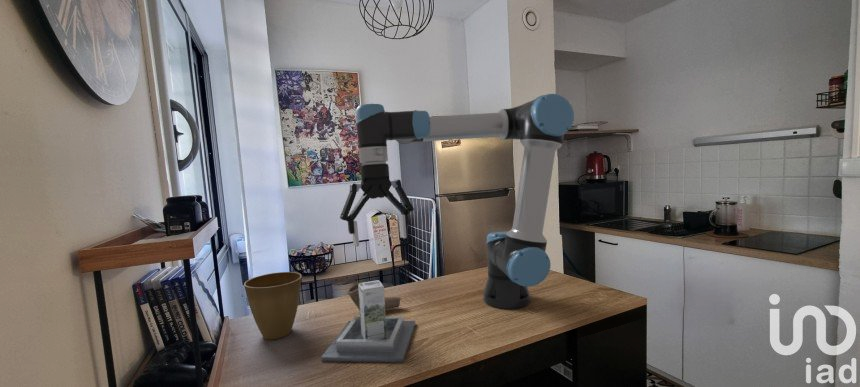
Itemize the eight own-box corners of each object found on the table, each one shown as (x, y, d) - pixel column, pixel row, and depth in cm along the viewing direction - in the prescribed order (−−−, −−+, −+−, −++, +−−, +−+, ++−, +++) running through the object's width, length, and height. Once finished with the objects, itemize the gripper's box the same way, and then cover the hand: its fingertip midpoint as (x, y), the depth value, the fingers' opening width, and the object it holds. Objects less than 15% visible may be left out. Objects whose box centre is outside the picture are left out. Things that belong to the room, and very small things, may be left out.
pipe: (402, 312, 111) (400, 281, 110) (348, 319, 107) (346, 287, 107) (399, 305, 117) (398, 275, 116) (349, 311, 114) (347, 281, 113)
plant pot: (299, 342, 94) (295, 284, 93) (240, 349, 92) (235, 290, 91) (309, 319, 109) (306, 269, 107) (259, 325, 106) (254, 273, 105)
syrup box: (381, 330, 97) (378, 278, 96) (387, 339, 92) (384, 285, 90) (360, 334, 95) (357, 282, 94) (365, 344, 89) (362, 289, 88)
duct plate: (415, 324, 102) (415, 312, 102) (403, 362, 82) (402, 348, 82) (349, 324, 104) (348, 312, 104) (321, 361, 84) (320, 347, 84)
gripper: (330, 166, 85) (338, 251, 86) (421, 160, 96) (427, 236, 98) (324, 166, 91) (331, 246, 93) (410, 161, 103) (415, 232, 105)
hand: (380, 241), depth 96 cm, fingers open, 13 cm apart
